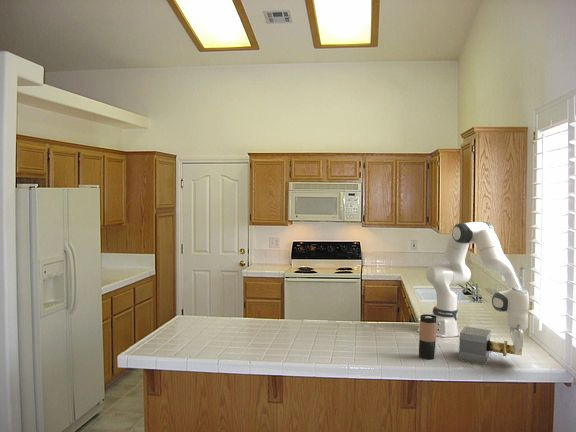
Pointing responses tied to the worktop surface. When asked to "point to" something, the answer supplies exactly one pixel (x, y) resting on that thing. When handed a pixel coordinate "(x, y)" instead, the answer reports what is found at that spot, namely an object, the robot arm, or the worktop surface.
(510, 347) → the brass collar peg
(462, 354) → the housing
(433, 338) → the travel mug
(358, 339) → the worktop surface
